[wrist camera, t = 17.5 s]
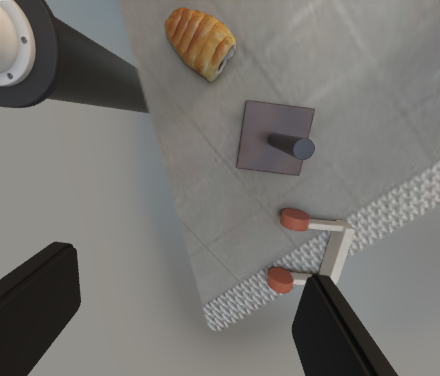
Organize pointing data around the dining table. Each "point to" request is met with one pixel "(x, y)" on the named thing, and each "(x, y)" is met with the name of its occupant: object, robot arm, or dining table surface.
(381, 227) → the dining table surface
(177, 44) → the pastry
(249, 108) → the headphone stand
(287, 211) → the over-ear headset
